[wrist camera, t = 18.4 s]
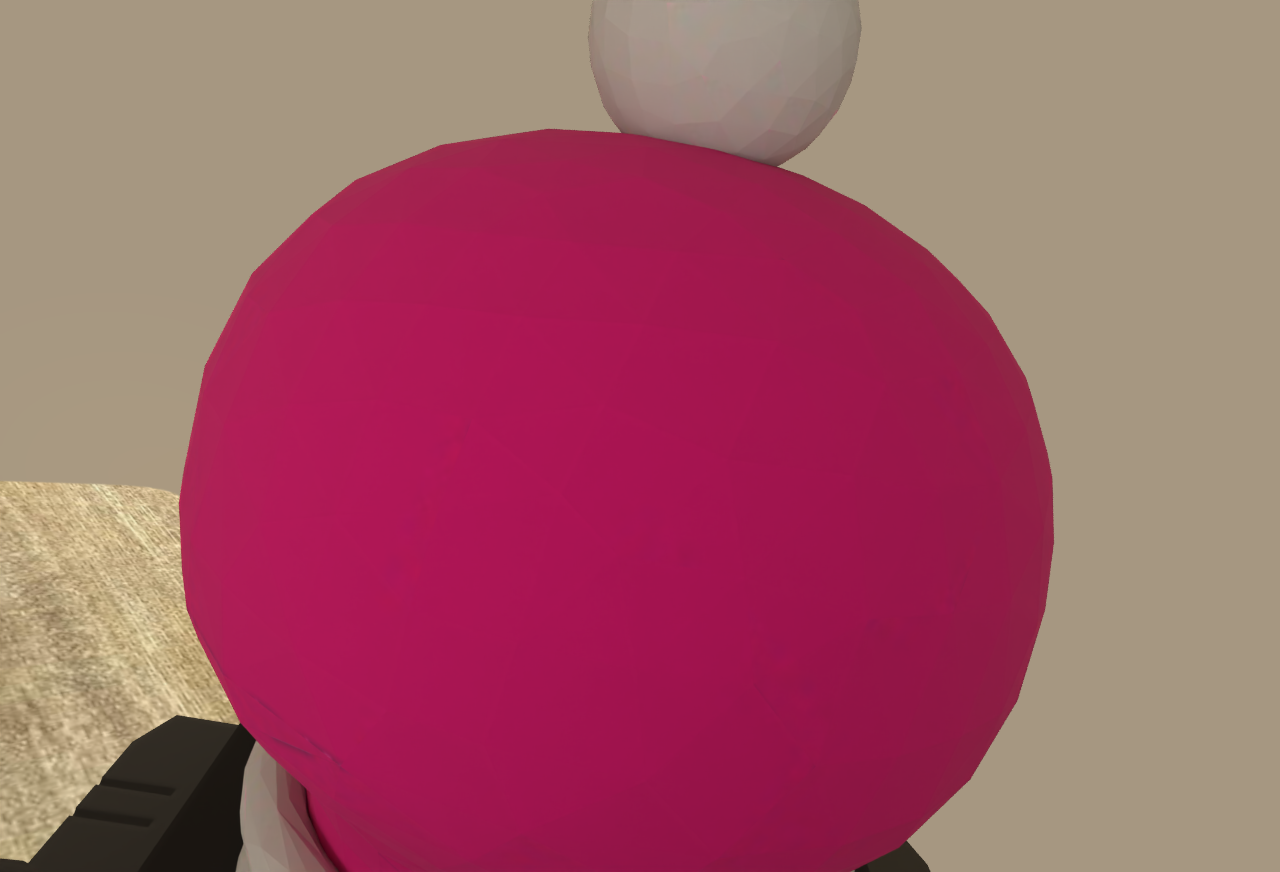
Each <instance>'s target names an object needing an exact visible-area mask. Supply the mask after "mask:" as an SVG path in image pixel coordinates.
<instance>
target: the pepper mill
mask: <svg viewBox="0 0 1280 872" xmlns="http://www.w3.org/2000/svg"><path fill="white" fill-rule="evenodd" d="M860 35H861V20H860V12H859V2H858V0H593V3H592V7H591V16H590V25H589V35H588V41H589V51H590V61H591V67H592V70H593V74H594V77H595V80H596V84H597V87H598V90H599V93H600V96H601V99H602V103H603V105H604V108H605V109H606V111H607V113H608V114H609V116H610V117H611V119H612V121H613V122H614V123H615V125H616V126H617V127H618V129H619V130H620V131H621V133H612V132H595V131H577V130H560V129H544V130H537V131H530V132H523V133H517V134H510V135H503V136H497V137H490V138H483V139H477V140H471V141H463V142H457V143H451V144H444V145H440V146H437V147H435V148H432V149H430V150H428V151H425V152H422V153H420V154H418V155H415V156H413V157H410V158H408V159H406V160H403V161H401V162H398V163H396V164H393V165H391V166H388V167H386V168H384V169H381V170H379V171H376V172H374V173H372V174H369V175H367V176H364V177H362V178H359V179H357V180H355V181H354V182H352V183H351V184H350V185H349V186H347V187H346V188H345V189H344V190H342V191H341V192H340V193H338V194H337V195H336V196H335V197H333V198H332V199H331V200H330V201H328V202H327V203H326V204H324V205H323V206H322V207H321V208H319V209H318V210H317V211H315V212H314V213H313V214H312V215H311V216H310V217H309V218H308V219H307V220H306V221H305V222H304V223H303V224H302V225H301V226H300V227H299V228H298V229H297V230H296V231H295V232H294V233H292V235H290V236H289V238H287V240H285V241H284V242H283V243H282V244H281V245H280V246H279V247H278V248H277V249H276V250H275V251H274V253H272V254H271V255H270V256H269V257H268V258H267V259H266V260H265V261H264V262H263V263H262V264H261V265H260V266H259V267H258V268H257V269H256V270H255V271H254V272H253V273H252V275H251V277H250V279H249V281H248V283H247V284H246V287H245V289H244V290H243V293H242V294H241V296H240V298H239V300H238V302H237V304H236V306H235V308H234V310H233V312H232V314H231V316H230V318H229V320H228V322H227V324H226V326H225V328H224V330H223V332H222V333H221V335H220V337H219V339H218V341H217V343H216V346H215V347H214V349H213V351H212V353H211V355H210V357H209V360H208V361H207V363H206V365H205V368H204V373H203V378H202V383H201V388H200V393H199V398H198V403H197V408H196V413H195V418H194V423H193V427H192V433H191V437H190V442H189V448H188V452H187V457H186V462H185V467H184V473H183V479H182V486H181V493H180V499H179V514H180V536H181V558H182V573H183V582H184V590H185V599H186V607H187V611H188V614H189V616H190V619H191V621H192V624H193V626H194V629H195V631H196V634H197V637H198V639H199V641H200V643H201V645H202V647H203V649H204V651H205V653H206V655H207V657H208V659H209V661H210V663H211V665H212V667H213V669H214V671H215V673H216V675H217V677H218V679H219V681H220V683H221V685H222V687H223V689H224V691H225V693H226V695H227V697H228V699H229V701H230V703H231V705H232V707H233V709H234V711H235V713H236V715H237V717H238V719H239V721H240V723H241V724H242V725H243V726H244V727H245V728H246V729H247V731H248V732H249V733H250V734H251V735H252V736H253V737H254V738H255V739H256V742H255V745H254V747H253V749H252V752H251V754H250V757H249V759H248V762H247V764H246V766H245V771H244V779H243V788H242V797H241V805H240V823H241V834H242V839H243V843H244V844H243V847H242V849H241V852H240V855H239V857H238V862H237V868H236V872H854V871H855V869H857V868H859V867H861V866H863V865H865V864H867V863H869V862H871V861H873V860H875V859H877V858H879V857H881V856H883V855H885V854H887V853H889V852H891V851H893V850H895V849H897V848H899V847H900V846H901V845H902V844H903V843H904V842H905V841H906V840H907V839H908V838H909V837H911V836H912V835H913V834H914V833H915V832H916V831H917V830H918V829H919V828H920V827H921V826H922V825H923V824H924V823H925V822H926V821H927V820H928V819H929V818H930V817H931V816H932V815H933V814H935V813H936V812H937V811H938V810H939V809H940V808H941V807H942V806H943V805H944V804H945V803H946V802H947V801H948V800H949V799H950V798H951V797H952V796H953V795H954V794H955V793H956V792H957V791H958V790H960V789H961V788H962V787H963V786H964V785H965V784H966V783H967V782H968V781H969V780H970V779H971V777H972V776H973V774H974V772H975V771H976V769H977V767H978V765H979V764H980V762H981V760H982V759H983V757H984V756H985V754H986V752H987V751H988V749H989V747H990V745H991V744H992V742H993V740H994V739H995V737H996V735H997V734H998V732H999V730H1000V729H1001V727H1002V725H1003V724H1004V722H1005V720H1006V719H1007V717H1008V715H1009V714H1010V712H1011V710H1012V709H1013V707H1014V705H1015V704H1016V702H1017V700H1018V697H1019V693H1020V690H1021V687H1022V684H1023V680H1024V677H1025V673H1026V671H1027V667H1028V664H1029V661H1030V657H1031V654H1032V651H1033V648H1034V644H1035V641H1036V638H1037V634H1038V631H1039V628H1040V625H1041V621H1042V618H1043V615H1044V612H1045V606H1046V599H1047V591H1048V584H1049V576H1050V568H1051V561H1052V553H1053V545H1054V527H1053V487H1052V474H1051V469H1050V464H1049V459H1048V453H1047V450H1046V446H1045V442H1044V439H1043V435H1042V431H1041V428H1040V424H1039V421H1038V417H1037V413H1036V410H1035V406H1034V403H1033V399H1032V396H1031V392H1030V389H1029V386H1028V383H1027V380H1026V377H1025V375H1024V374H1023V372H1022V370H1021V368H1020V367H1019V365H1018V364H1017V362H1016V360H1015V358H1014V357H1013V355H1012V353H1011V351H1010V349H1009V348H1008V346H1007V344H1006V342H1005V341H1004V339H1003V337H1002V336H1001V334H1000V332H999V330H998V329H997V327H996V325H995V323H994V322H993V320H992V318H991V316H990V315H989V313H988V312H987V311H986V310H985V309H984V308H983V307H982V306H981V304H980V303H979V302H978V301H977V300H976V299H975V298H974V297H973V296H972V295H971V293H970V292H969V291H968V290H967V289H966V288H965V287H964V286H963V285H962V284H961V282H960V281H959V280H958V279H957V278H956V277H955V276H954V275H953V274H952V273H951V272H950V271H949V270H948V269H947V268H946V267H945V266H944V265H943V264H942V263H940V261H939V260H937V258H936V257H934V256H933V255H932V254H931V253H930V252H929V251H928V250H927V249H926V248H924V247H923V246H921V245H920V244H919V243H917V242H916V241H914V240H913V239H912V238H910V237H909V236H907V235H906V234H904V233H903V232H902V231H900V230H899V229H898V228H896V227H895V226H893V225H892V224H891V223H889V222H887V221H886V220H885V219H883V218H882V217H881V216H879V215H878V214H876V213H875V212H873V211H872V210H871V209H869V208H868V207H867V206H865V205H863V204H861V203H859V202H857V201H855V200H853V199H851V198H849V197H847V196H844V195H842V194H840V193H838V192H836V191H834V190H832V189H830V188H828V187H826V186H824V185H821V184H819V183H817V182H815V181H813V180H811V179H809V178H807V177H805V176H803V175H800V174H797V173H794V172H791V171H788V170H785V169H782V168H779V167H777V166H779V165H781V164H783V163H784V162H786V161H787V160H789V159H791V158H792V157H794V156H795V155H797V154H798V153H800V152H801V151H803V150H805V149H806V148H807V147H808V146H809V145H810V144H811V143H812V142H813V141H814V140H815V138H817V137H818V136H819V135H820V133H821V132H822V130H823V129H824V128H825V127H826V126H827V124H828V123H829V121H830V120H831V119H832V118H833V116H834V115H835V114H836V113H837V111H838V110H839V107H840V105H841V103H842V101H843V99H844V97H845V94H846V92H847V90H848V88H849V86H850V84H851V81H852V76H853V73H854V69H855V65H856V61H857V55H858V48H859V42H860Z"/></svg>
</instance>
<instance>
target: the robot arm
mask: <svg viewBox="0 0 1280 872" xmlns="http://www.w3.org/2000/svg"><path fill="white" fill-rule="evenodd" d="M255 742H256V739H255V738H254V737H253V736H252V735H251V734H250V733H249V732H248V731H247V729H246V728H245V727H244V726H243V725H242V724H241V723H240V724H239V725H235V724H229V723H222V722H216V721H210V720H204V719H198V718H191V717H185V716H179V715H176V716H175V717H173V718H171V719H170V720H168V721H166V722H165V723H163V724H161V725H160V726H158V727H156V728H155V729H153V730H151V731H150V732H148V733H146V734H145V735H143V736H141V737H140V738H138V739H136V740H135V741H133V742H132V743H131V744H130V745H129V747H128V748H127V749H126V750H125V751H124V752H123V754H122V755H121V756H120V757H119V758H118V759H117V761H116V762H115V763H114V764H113V765H112V766H111V767H110V769H109V770H108V771H107V772H106V773H105V774H104V776H103V777H102V780H101V782H100V784H99V785H95V786H94V787H93V788H92V790H91V791H90V792H89V793H88V794H87V795H86V797H85V798H84V799H83V800H82V801H81V802H80V804H79V805H78V806H77V807H76V810H75V813H74V814H73V816H68V818H67V819H66V820H65V821H64V822H63V823H62V825H61V826H60V827H59V828H58V829H57V830H56V831H55V833H54V834H53V835H52V836H51V837H50V838H49V840H48V841H47V842H46V843H45V844H44V845H43V847H42V848H41V849H40V850H39V851H38V852H37V854H36V855H35V856H34V857H33V858H32V859H31V861H30V862H29V863H26V862H24V861H19V860H10V859H0V872H236V868H237V862H238V857H239V855H240V852H241V849H242V847H243V844H244V843H243V839H242V834H241V823H240V805H241V797H242V788H243V779H244V771H245V766H246V764H247V762H248V759H249V757H250V754H251V752H252V749H253V747H254V745H255ZM854 872H930V870H929V867H928V865H927V864H926V863H925V861H924V860H923V859H922V858H921V857H920V856H919V854H917V852H916V851H915V850H914V849H913V848H912V846H911V845H910V844H909V843H908V842H907V841H905V842H904V843H903V844H902V845H901V846H900V847H899V848H897V849H895V850H893V851H891V852H889V853H887V854H885V855H883V856H881V857H879V858H877V859H875V860H873V861H871V862H869V863H867V864H865V865H863V866H861V867H859V868H857V869H855V871H854Z"/></svg>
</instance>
